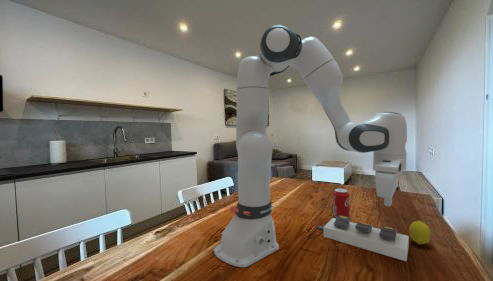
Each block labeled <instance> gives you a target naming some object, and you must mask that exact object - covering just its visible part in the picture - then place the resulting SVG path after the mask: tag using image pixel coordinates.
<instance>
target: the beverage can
mask: <svg viewBox="0 0 493 281" xmlns="http://www.w3.org/2000/svg"><path fill="white" fill-rule="evenodd" d="M332 196H333V198H332V200H333V201H332V202H333V205H332V206H333V211H332V212H333V216H334V218H335V219H336V218H337V217H338V216H339V215H341V216H346V217H350V193H349V192H348V190H347V189H345V188H335V189H334V191H333V192H332Z"/></svg>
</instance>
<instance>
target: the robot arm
mask: <svg viewBox="0 0 493 281" xmlns="http://www.w3.org/2000/svg"><path fill="white" fill-rule="evenodd" d="M259 50H260V52H258V53H257V54H256V55H249V56H246V57H243V59H241V60H240V62H239V64H238V67H237V68H238V70H237V76H236V125H235V126H236V130H235V131H236V132H235V133H236V134H235V136H236V137H235V138H236V139H235V145H236V146H235V147H236V151H237V189H238V193H237V194H238V201H237V204H236V206H234V205H231V206H230V207H229V211H230V213H234V214H235V215H234V216H233V217H232V219H231V220H230V221H229V223H228V224H227V225H226V227H225V229H223V231H222V233H221V240H220V243H219V244H218V245H216V246H215V247H214V250H213V253H214V255H215V257H217V258H218V259H219V260H220V261H223V262H224V263H226V264H227V265H231V266H234V267H239V268H247V267H249V266H251V265H254V264H255V263H256V262H258V261H260V260H262V259H264V258H265V257H267V256H270V255H271V254H273V253H275V252H276V251H278V250H279V249H280V246H279V243H278V242H277V236H276V235H277V234H276V228H275V222H274V219H273V217H272V210H273V209H272V208H273V205H272V201H271V191H270V190H271V188H270V187H271V186H270V184H271V182H270V181H271V169H272V158H273V156H272V155H273V150H274V149H273V143H272V140H271V139H270V137H269V136H268V135H267V129H268V128H267V126H268V120H269V113H270V112H269V111H270V110H269V109H270V101H269V100H270V99H269V98H270V82H269V81H270V77H272V76H275V75H279V74H281V73H283V72H285V71H286V70H287V69H288V68H290V67H292V68H294V69H295V70H297V72H299V74H300V76H301V78H302V80H303V82H304V83H305V84H306V86H307V88H309V90H310V91H311V93H312V94H313V95H314V96H315V98H316V100H317V101H318V102H319V104H320V105H321V106H322V109H323V110H324V111H323V112H325V114H326V116H327V117H328V120H329V121H330V124H331V125H332V127H333V130H334V137H335V141H336V143H337V145H338V146H339V148H341V149H342V150H345V151H347V152H354V153H355V152H356V153H359V154H360V153H361V154H362V153H363V154H366V153H373V159H372V161H373V162H372V167H373V168H372V170H373V171H374V172H375V173H374V174H375V175H374V176H375V177H374V178H375V191H376V195H377V197H379V198H383V200H384V201H383V205H384V206H386V207H391V206H392V204H393V196H394V194H395V192H396V190H397V187H399V186H398V185H399V175H401V174H402V171H406V170H407V150H406V143H407V142H408V125H407V120H406V117H405V116H404V115H403V114H402V113H398V112H394V111H380V112H377V114H375V115H373V116H371V117H370V118H368V119H366V120H362V121H361V122H357V123H356V122H354V121H353V120H352V119H351V118H350V116H349V113H348V112H347V110H346V109H345V107H344V105H343V103H342V101H341V96H340V95H341V88H342V85H343V80H344V76H343V73H342V71H341V69H340V66H339V65H338V62H337V61H336V60H335V58H334V56H333V55H332V54H331V52H330V51H329V49H328V48H327V47H326V46H325V45H324V43H322V42H321V41H320V39H318V38H317V37H315V36H307V37H305V38H303V39H302V37H301V35H300V34H298V33H296V32H295V31H293V30H291V29H290V28H289V27H287V26H285V25H283V24H274V25H272V26H270V27H269V28H267V29H266V30H265V31H264V33H263V34H262V37H261V40H260V42H259Z"/></svg>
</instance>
